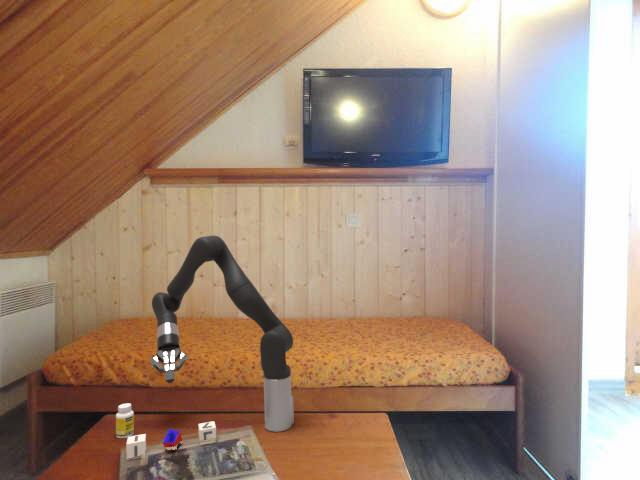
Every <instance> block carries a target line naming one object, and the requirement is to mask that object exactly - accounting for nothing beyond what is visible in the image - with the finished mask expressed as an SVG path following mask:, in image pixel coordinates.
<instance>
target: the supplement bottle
mask: <svg viewBox="0 0 640 480" xmlns="http://www.w3.org/2000/svg"><path fill="white" fill-rule="evenodd" d="M117 411H118V412H117V413H116V414H115V436H116V437H115V438H117V439H128V437H130V436H134V433H135V412H134V410H132V403H128V402H127V403H121V404H120V405H118V407H117Z"/></svg>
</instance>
